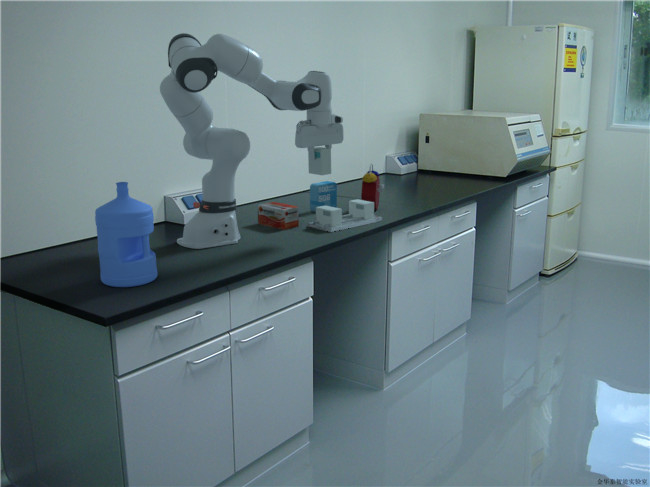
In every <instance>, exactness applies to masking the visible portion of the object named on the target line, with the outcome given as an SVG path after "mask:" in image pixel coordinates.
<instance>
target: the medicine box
mask: <svg viewBox="0 0 650 487" xmlns="http://www.w3.org/2000/svg"><path fill="white" fill-rule="evenodd" d="M299 213H300V212H299V206H297V205H292V204H287V203H281V202H276V201H271V202H265V203H261V204H257V222H258V224H259V225H260V226H265V227H270V228H275V229H277V230H278V229H279V230H283V231H286V230H289V229H293V228H298V227H299V226H300V225H299V222H300V219H299Z"/></svg>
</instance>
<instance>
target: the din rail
mask: <svg viewBox="0 0 650 487" xmlns="http://www.w3.org/2000/svg"><path fill="white" fill-rule="evenodd" d="M382 221H383V217H382V216H378V215H377V213H374V217H373V218H369V219H363V217H358V218H357V217H353V216H352V215H351V214H350V215H349V213H348V214H344V215H343V214H342V225H337V226H333V227H332V226H330V224H326V225H324V224H320V223H319V221H317V222H316V220H315V221H310V222H307V227H308V228H312V229H316V230H318V231H319V230H320V231H324V232H327V231H328V233H335V232H334V231H336V232H340V231H343V230H348V228H349V229H352V228H357V227H361V226H365V225H370V224H375V223H378V222H379V223H380V222H382ZM339 230H340V231H339Z"/></svg>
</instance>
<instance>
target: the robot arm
mask: <svg viewBox="0 0 650 487" xmlns="http://www.w3.org/2000/svg"><path fill="white" fill-rule="evenodd" d="M167 57H168V58H167V59H168V60H167V61H168V67H169V68H170V70H171V71H170V73H169V74H168V75H167V76H165V77H164V78H163V79H162V81H161V82H160V84H159V92H160V95H161V97H162V99H163V102H164V103H165V104H166V106H167V108H168V110H169V111H170V112H171V113H172V115H173V116H174V118H175V119H176V120H177V121H178V123H179V124H180V125H181V127H182V129H183V130H184V132H185V133H184V136H183V141H182V144H183V145H182V146H183V148H184V151H185V152H186V154H188V156H192V157H194V158H197V159H200V160H212V164H211V168H210V170H209V171H207V172H206V173H205V174H204V175H203V177H201V178H202V179H201V187H202V188H201V191H202V192H201V193H202V200H201V201H200V202H198V201H193V202H192V203H193V204H192V205H193V208H196V209H198V212H197V213H195V214H194V216H193V217H192V218H191V219H189V221H187V222H186V223H185V225H184V227H183V231H182V237H180V238H177V239H176V243H177V244H178V245H179V246H180V247H181V246H182V247H185V248H189V249H196V250H197V249H198V250H200V249H206V248H213V247H221V246H226V245H227V246H228V245H233V244H238V243H239V240H240V239H241V234H240V230H239V228H238V220H237V216H236V215H237V214H236V213H237V199H236V198H235V195H236V194H235V180H236V178H235V177H236V173H237V170H238V167H239V165H240V164H241V163H242V161H244V160H245V159H246V157H248V155H249V153H250V150H251V140H250V139H249V136H248V135H247V133H246V132H244V131H241V130H239V129H234V128H227V127H225V128H224V127H216V126H214V125H213V124H212V122H213V119H214V112H213V109H212V108H211V105H209V103H208V102H207V100H206V99H205V98H204V96H203V95H202V94H201V92H202V91H204V90H205V89H207V88H208V87H209V85H210V84H211V83H212V81H214V80H215V79H216V78H217V76H218V73H219V72H220V73H222V74H224V75H226V76H228V77H230V78H232V79H233V80H234V81H237V82H239V83H241V84H244V85H247V86H249V87H250V88H251V89H254V90H255V91H256V92H258V93H260V94H261V95H262V96H264V97H265V98H266V100H268V102H269V103H270V105H271V106H272V107H273V108H274V109H276V110H279V111H295V112H304V111H306V120H300V121H298V123H297V124H296V126H295V129H296V130H295V137H294V146H296V148H298V149H307V152H309V154H310V159H311V160H315V159H317V155H316V154H314V151H313V150H314V147H323V146H324V148H331V149H332V148H333V146H332V145H338V144H339V145H340V144H342V143H343V141H344V126H343V124H342V123H343V121H344V118H343V117H342V115H341V116H340V115H338V114H335V113H333V108H332V98H333V97H332V96H333V92H332V90H333V89H332V81H331V77H330V75H329V74H328V73H327V72H324V71H321V70H320V71H318V70H310V71H308V72H307V74H306V75H305V76H303V77H302V78H300V79H299V80H297V81H289V80H288V81H287V80H275V79H274V78H272V77H271V76H269V75H268V74H266V73H264V72H263V66H264V64H263V58H262V56H261V55H260V54H259V53H258V52H257V51H255V49H253V48H252V47H250V46H248V45H247V44H245V43H243V42H242V41H239V40H238V39H235V38H234V37H231V36H229V35H226V34H223V33H216V34H215V33H214V34H213V35H212V36H211V37H209V39H208V40H207V41H206V43H204V44H203V45H202V44H201V42H200V41H199V40H198V38H197V37H195V36H194V35H192V34H189V33H186V32H185V33H184V32H183V33H178V34H176V35H175V36H173V37H172V38H171V40H170V41H169V43H168V48H167Z"/></svg>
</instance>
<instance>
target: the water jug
mask: <svg viewBox="0 0 650 487" xmlns="http://www.w3.org/2000/svg"><path fill="white" fill-rule="evenodd" d="M128 184H129V182H127V181H119V182H115V185H116V198H115V197H114V198H113V199H112V200H109V201H108V202H107V203H105V204H102V205H100V206H99V207H97V208H96V209H95V211H94V214H95V215H94V216H95V218H94V220H95V221H94V222H95V227H96V234H97V252H98V256H99V257H98V258H99V268H100V274H99V276H100V280H101V282H102V283H103V285H106V286H109V287H111V288H112V287H114V288H131V287H134V288H135V287H138V286H144V285H147V284H150V283H151V282H154V281H155V280H156V279H157V277H158V268H157V255H156V253H155V251H153V250H152V249H151V246H150V235H151V234H152V233H153V232H154V230H155V227H154V226H155V225H154V221H155V220H154V219H155V217H154V211H153V207H152V206H151V205H150V204H148V203H145V202H143V201H140V200H138V199H135V198H133V197H131V196H130V195H129V186H128Z"/></svg>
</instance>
